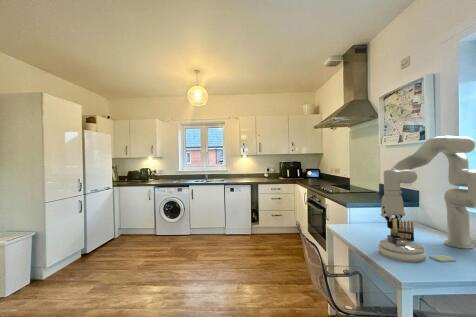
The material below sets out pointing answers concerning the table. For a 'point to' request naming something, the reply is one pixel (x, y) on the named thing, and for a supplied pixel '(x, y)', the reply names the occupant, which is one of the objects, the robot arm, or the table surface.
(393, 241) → the grey round shallow disc
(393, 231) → the brass rounded cylinder
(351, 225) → the table surface
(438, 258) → the mat
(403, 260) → the chuck housing
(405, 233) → the ammunition clip
